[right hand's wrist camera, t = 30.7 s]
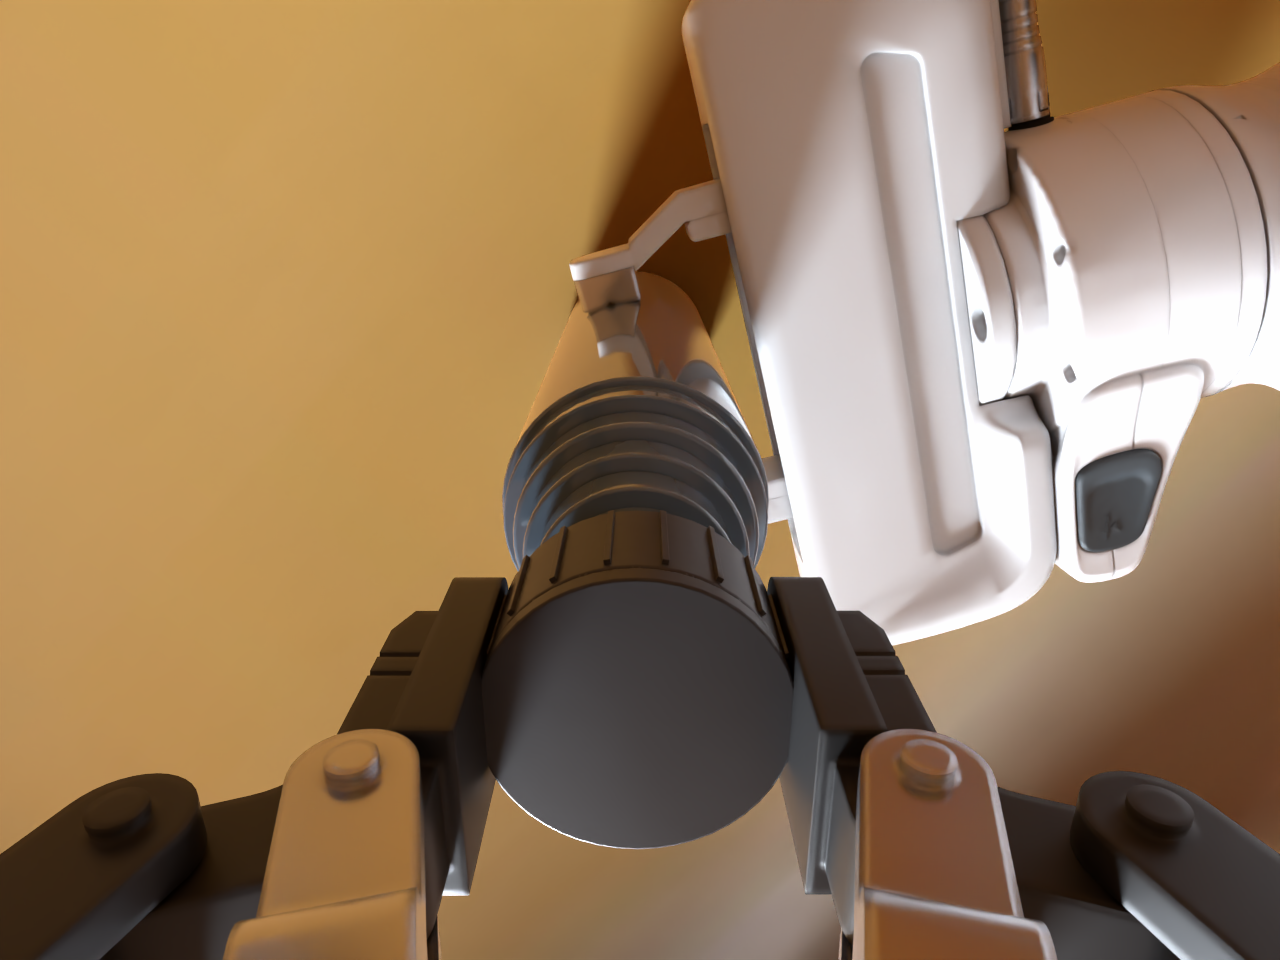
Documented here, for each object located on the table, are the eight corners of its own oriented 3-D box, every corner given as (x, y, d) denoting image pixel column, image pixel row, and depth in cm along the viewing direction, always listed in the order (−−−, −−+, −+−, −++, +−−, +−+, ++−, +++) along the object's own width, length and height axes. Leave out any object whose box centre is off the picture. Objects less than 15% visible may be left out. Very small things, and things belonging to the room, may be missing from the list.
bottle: (643, 240, 31) (665, 410, 10) (732, 350, 32) (918, 705, 11) (536, 333, 32) (347, 664, 11) (626, 435, 33) (613, 902, 12)
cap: (489, 506, 12) (457, 576, 10) (785, 506, 12) (815, 576, 10) (505, 748, 13) (480, 852, 11) (770, 748, 13) (792, 852, 11)
